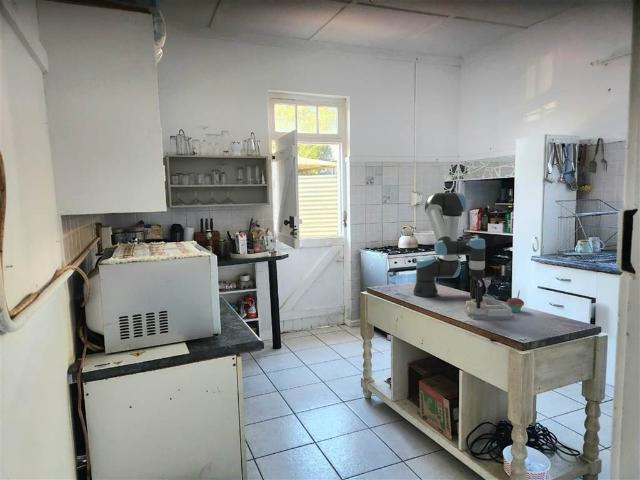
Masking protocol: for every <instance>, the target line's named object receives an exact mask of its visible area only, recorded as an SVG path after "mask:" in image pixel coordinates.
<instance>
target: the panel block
mask: <svg viewBox="0 0 640 480" xmlns="http://www.w3.org/2000/svg"><path fill="white" fill-rule="evenodd" d="M487 305H488V303H487V302H486V301H485V300H483V302H481V315H487ZM465 310H466V312H465V314H466V315H468V314H469V315H475V302H474V301H471V300H466V301H465ZM469 315H468V316H469Z"/></svg>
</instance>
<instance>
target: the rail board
mask: <svg viewBox="0 0 640 480" xmlns="http://www.w3.org/2000/svg"><path fill="white" fill-rule="evenodd" d="M464 313H466V309H465V310H464ZM467 315H468V316H469V317H470V318H471V320H508V321H509V320H510V319H515V318H514V316H513V315H512V308H510V307H509V305H508V304H507V303H506V304H505V303H501V302H500V304H487V315H469V314H467Z"/></svg>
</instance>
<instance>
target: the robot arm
mask: <svg viewBox="0 0 640 480" xmlns="http://www.w3.org/2000/svg"><path fill="white" fill-rule="evenodd" d="M466 211H467V200H466V197H465V195H464V194H463V193H461V192H437V193H434V194H432V195H430V196H429V197H428V198H427V200H426V201H425V204H424V212H425V215H426V216H427V217H428V218H429V222H430V225H431V228H432V231H433V234H434V236H435V239H436V241H435V243H434V248H433V249H434V252H435V255H436V256H438V259H436V257H433V256H431V257H421V258H419V259H417V261H416V263H415V265H416V267H415V268H416V270H415V271H416V272H415V273H416V274H415V275H416V276H415V277H416V278H415V285H414V288H413V292H412V293H413V295H414V296H416V297H423V298H424V297H425V298H432V297H437V296H438V295H439V290H438V288H437V285H436V279H452V278H457V277H459V275H460V273H461V271H462V270H461V269H462V264H461V260H460V259H459V257H458V256H469V260H468V261H469V262H468V268H469V269H468V275H469V277H471V278H470V279H469V281H470V283H469V284H470V287H469V288H470V289H469V291H470V293H469V296H470V301H474V302H475V315H481V302H483V301H484V299H483V298H484V291H483V290H484V282H482V278H484V277H485V274H486V273H485V268H486V240H485V238H480V237H479V238H478V237H477V238H476V237H474V238H470V239H466V240H458V234H459V221H460V220H459V219H460V218H461V217H462V214H463V213H465V212H466Z"/></svg>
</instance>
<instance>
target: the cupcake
mask: <svg viewBox="0 0 640 480" xmlns="http://www.w3.org/2000/svg"><path fill="white" fill-rule="evenodd" d="M520 293H521V289H519V290H518V293H517V297H510V298H508V299H507V300H506V305H507V306H509V307H510V308H512V312H513V313H519V312H521V309H522V307H523V306H524V305H525V301H524V300H522V299H521V298H519V297H520Z"/></svg>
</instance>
